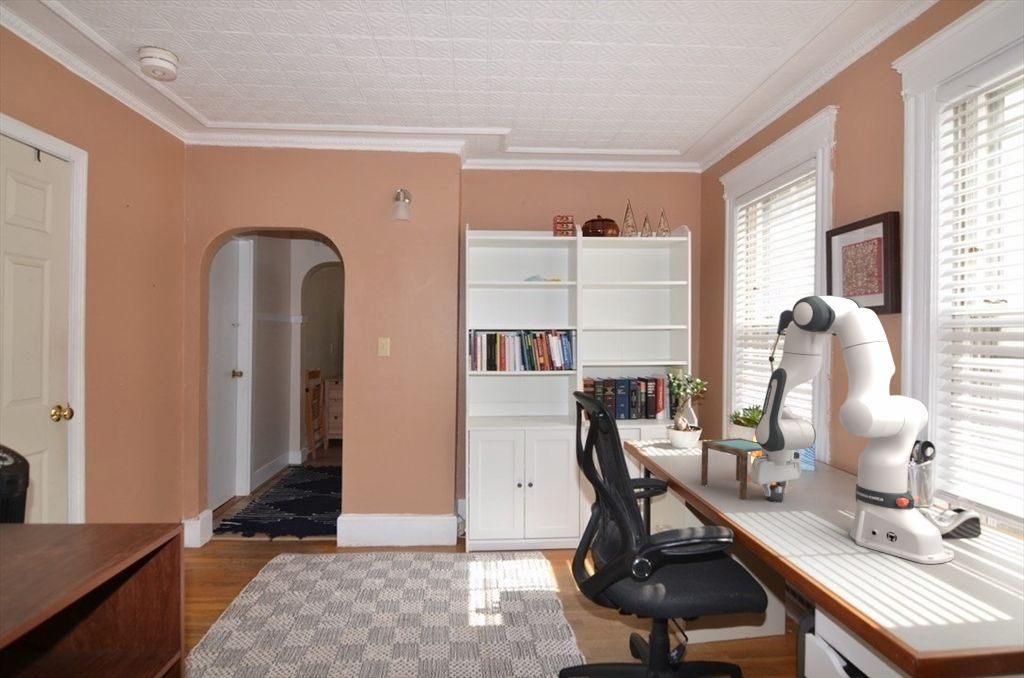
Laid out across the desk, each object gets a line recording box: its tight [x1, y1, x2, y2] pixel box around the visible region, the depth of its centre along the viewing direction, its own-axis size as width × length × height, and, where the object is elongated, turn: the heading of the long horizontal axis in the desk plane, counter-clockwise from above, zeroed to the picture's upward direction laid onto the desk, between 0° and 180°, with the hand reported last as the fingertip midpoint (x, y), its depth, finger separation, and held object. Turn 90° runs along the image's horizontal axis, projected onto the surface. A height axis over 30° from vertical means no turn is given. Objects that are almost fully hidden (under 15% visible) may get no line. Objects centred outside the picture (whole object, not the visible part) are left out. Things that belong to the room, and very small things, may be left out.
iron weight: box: [766, 483, 784, 503], centre depth 182 cm, size 5×5×5 cm
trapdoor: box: [712, 440, 762, 453], centre depth 195 cm, size 14×14×1 cm
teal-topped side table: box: [700, 437, 781, 500], centre depth 195 cm, size 19×19×16 cm
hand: (775, 494), depth 182 cm, fingers closed on iron weight, 5 cm apart
